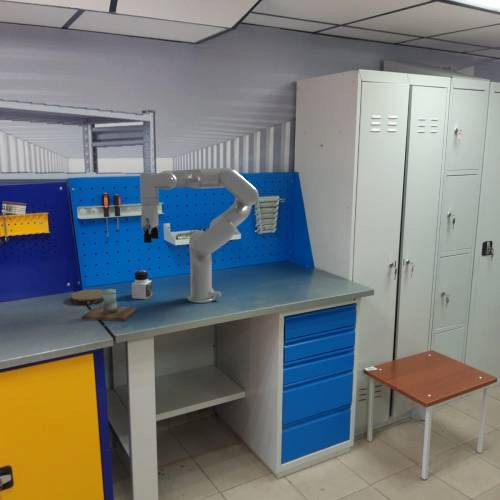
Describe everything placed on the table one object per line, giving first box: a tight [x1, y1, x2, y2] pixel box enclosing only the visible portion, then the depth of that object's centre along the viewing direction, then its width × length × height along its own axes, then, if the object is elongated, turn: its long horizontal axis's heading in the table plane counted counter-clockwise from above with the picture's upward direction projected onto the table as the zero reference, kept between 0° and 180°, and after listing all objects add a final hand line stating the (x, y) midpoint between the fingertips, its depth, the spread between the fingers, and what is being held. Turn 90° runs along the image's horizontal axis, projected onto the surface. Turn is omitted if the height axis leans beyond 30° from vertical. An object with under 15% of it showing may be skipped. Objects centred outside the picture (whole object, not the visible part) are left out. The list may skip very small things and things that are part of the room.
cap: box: [102, 288, 117, 304], centre depth 212 cm, size 5×5×5 cm
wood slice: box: [70, 288, 104, 306], centre depth 233 cm, size 16×16×3 cm
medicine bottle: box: [130, 270, 153, 300], centre depth 237 cm, size 7×7×12 cm
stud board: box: [81, 300, 138, 322], centre depth 213 cm, size 18×14×5 cm
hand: (151, 240), depth 224 cm, fingers open, 9 cm apart
